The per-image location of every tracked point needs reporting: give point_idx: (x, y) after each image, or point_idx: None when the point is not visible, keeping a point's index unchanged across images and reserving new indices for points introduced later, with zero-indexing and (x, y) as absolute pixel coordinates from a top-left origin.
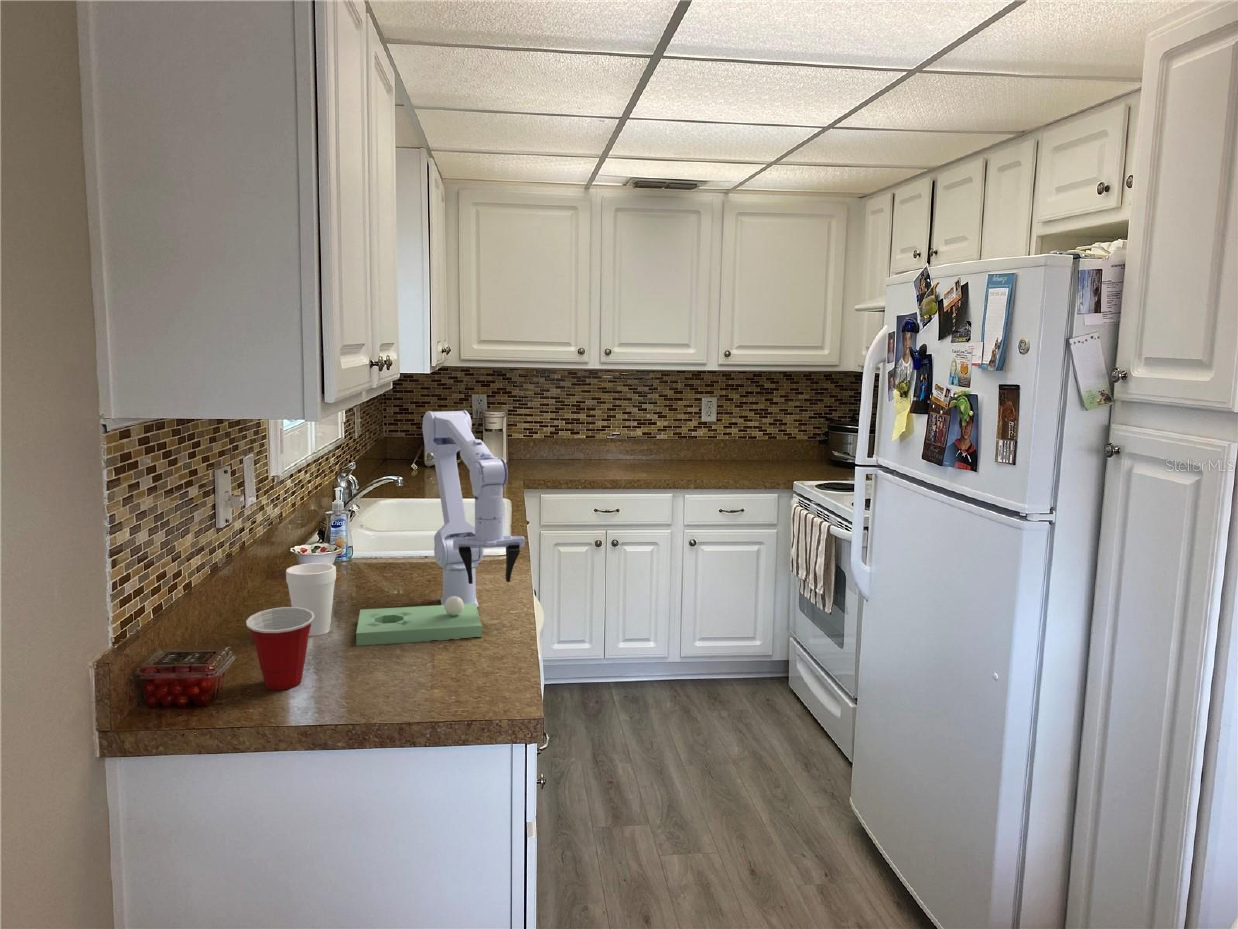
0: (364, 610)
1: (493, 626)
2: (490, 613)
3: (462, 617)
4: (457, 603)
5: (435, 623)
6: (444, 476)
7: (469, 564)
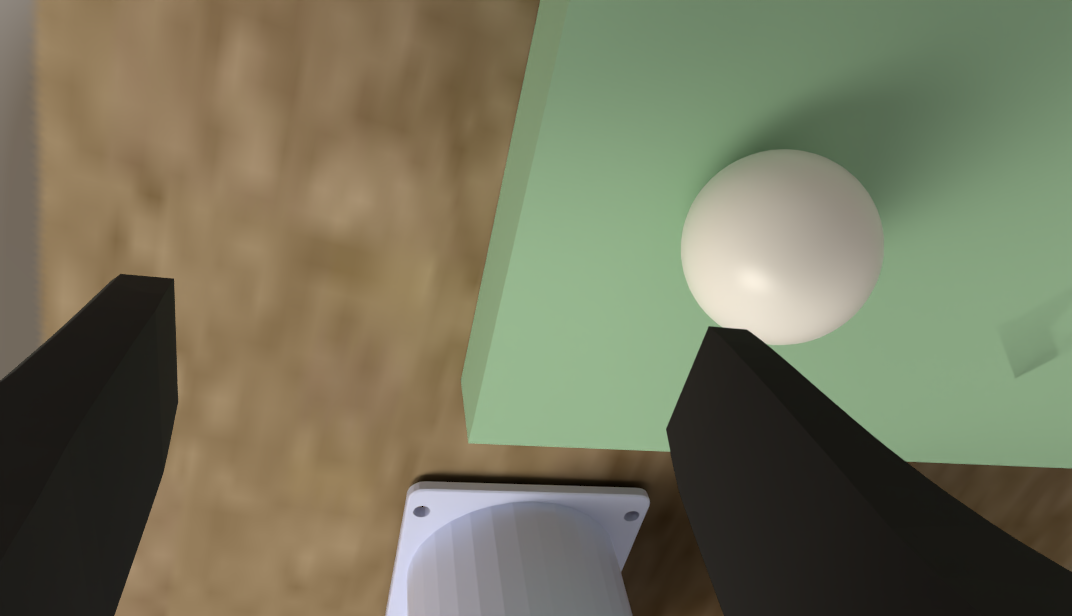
0: None
1: (390, 60)
2: (345, 380)
3: (707, 114)
4: (801, 198)
5: (1004, 13)
6: None
7: (933, 536)
